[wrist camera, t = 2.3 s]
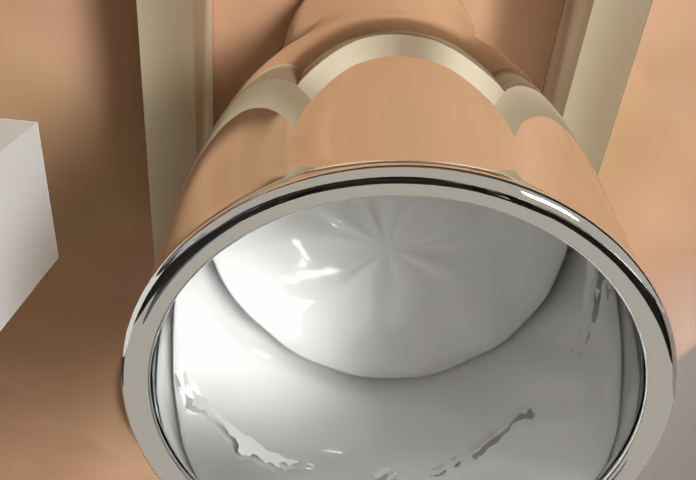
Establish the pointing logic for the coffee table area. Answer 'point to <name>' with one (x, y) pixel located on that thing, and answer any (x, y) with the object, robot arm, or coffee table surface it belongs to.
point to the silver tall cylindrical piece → (395, 276)
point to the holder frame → (197, 83)
